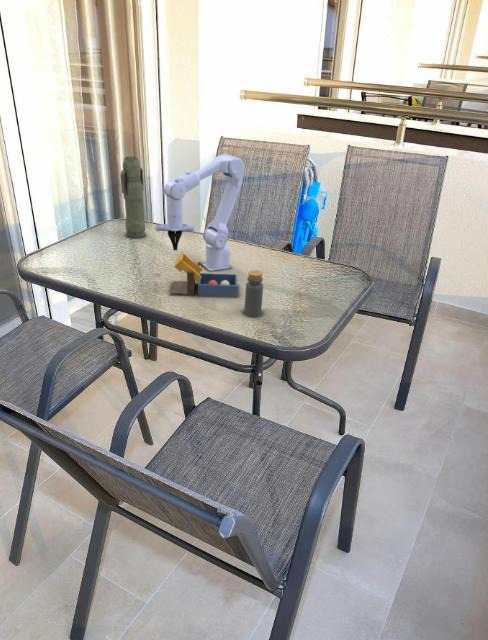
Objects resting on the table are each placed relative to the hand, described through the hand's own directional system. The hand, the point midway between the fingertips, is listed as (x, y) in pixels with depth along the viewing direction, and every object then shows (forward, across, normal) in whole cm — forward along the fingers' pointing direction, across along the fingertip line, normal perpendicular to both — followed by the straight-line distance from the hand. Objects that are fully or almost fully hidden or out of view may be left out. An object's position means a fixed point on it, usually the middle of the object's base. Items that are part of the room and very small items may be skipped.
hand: (175, 249), depth 197 cm
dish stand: (+10, +4, -14) cm, 18 cm away
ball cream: (+8, +20, -14) cm, 25 cm away
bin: (+10, +17, -14) cm, 24 cm away
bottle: (+11, +29, -32) cm, 45 cm away
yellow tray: (+4, +5, -11) cm, 12 cm away
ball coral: (+8, +15, -14) cm, 22 cm away
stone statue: (+11, -23, +47) cm, 53 cm away
